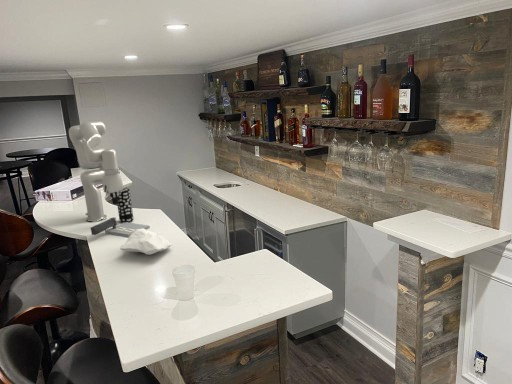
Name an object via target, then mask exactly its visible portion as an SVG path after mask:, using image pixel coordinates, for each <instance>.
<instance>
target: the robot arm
mask: <svg viewBox="0 0 512 384" xmlns="http://www.w3.org/2000/svg"><path fill="white" fill-rule="evenodd" d="M106 131H107V127H106V125H105V123H104V122H103V121H101V120H92V121H91V120H90V121H83V122H81V123H80V124H79V125H78V124H77V125H74V126H73V125H72V126H71V127H70V128H68V135H69V136H68V137H69V140H70V141H71V142H72V145H73V146H74V148H75V152H76V156H77V159H78V160H77V161H78V164H79V167H80V168H81V169H83V170H86V171H84V172H82V173H81V174H80V177H79V179H80V182H81V185H82V189H83V194H84V199H85V206H86V213H85V216H87V217H86V218H85V220H88V221H96V222H98V221H97V220H101V219H104V218H106V217H107V218H108V216H107V214H105V212H104V206H103V205H104V204H103V199H102V192H101V190H100V189H99V188H98V187H97V186H98V185H99V186H100V185H102V187H103V192H104V193H105V196H108V197H110V198H111V201H112V204H113V205H117V204H119V200H118V197H119V194H120V193H121V192H122V191H123V190H122V189H124V185H123V179H122V177H121V174H120V172H119V171H120V168H119V165H118V157H117V151H116V150H115V149H114V148H112V147H103V148H102V147H101V148H100V147H99V148H97V147H98V146H99V145H101V143H102V141H103V135H105V134H106V133H107V132H106ZM96 168H98V169H96ZM89 169H90V170H89ZM91 169H92V170H91ZM107 218H106V219H107ZM104 220H105V219H104ZM88 221H87V222H88ZM101 221H102V220H101Z"/></svg>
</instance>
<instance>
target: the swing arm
mask: <svg viewBox="0 0 512 384" xmlns="http://www.w3.org/2000/svg"><path fill="white" fill-rule="evenodd" d="M115 225H116V226H118V224H117V218H116V217H110V218H107V220H106V219H105V221H104V220H103V221H102V222H100V223H98V224H95V225H93V226H92V227H90V233H91V235H92V236H96V235H98V234H101V233H102V232H105V230H107V229H110V228H112V227H113V226H115Z"/></svg>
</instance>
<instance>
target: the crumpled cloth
mask: <svg viewBox="0 0 512 384" xmlns="http://www.w3.org/2000/svg"><path fill="white" fill-rule="evenodd" d="M157 234H158V233H156V232H154V231H150V230H148V229H147V230H146V229H143V228H142V229H136V230H135V231H134V232H133V233H132V234H131V235H130V236H129V237H127V240H126V241H125V242H124V244H122V245H121V246H120V248H119V249H120V250H121V251H124V252H130V253H131V252H132V253H133V252H134V253H135V252H137V253H144V254H145V255H153V254H156V253H158V252H162V251H165V250H167V248H171V246H172V243H171V242H170V241H168V240H167V239H166V238H164V237H163V236H162V235H157Z"/></svg>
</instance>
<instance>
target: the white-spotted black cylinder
mask: <svg viewBox="0 0 512 384" xmlns="http://www.w3.org/2000/svg"><path fill="white" fill-rule="evenodd" d="M122 190H123V191H122V192H121V193H120V194H119V197H118V200H119V204H116V205H117V211H118V212H117V213H118V217H119V218H118V219H119V223H120V222H121V223H120V224H123V223H126V222H129V223H133V222H134V221H133V220H134V219H135V218H134V213H133V206H132V198H131V190H130V188H123V189H122Z"/></svg>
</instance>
